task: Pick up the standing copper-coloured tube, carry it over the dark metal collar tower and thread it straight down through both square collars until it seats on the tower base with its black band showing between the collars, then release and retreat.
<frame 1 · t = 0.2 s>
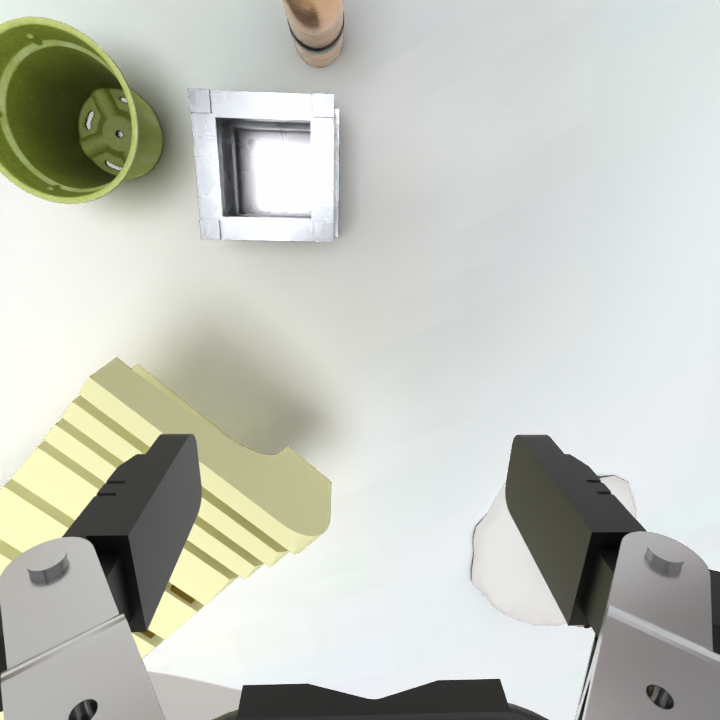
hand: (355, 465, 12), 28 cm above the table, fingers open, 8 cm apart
slatted curved stool: (164, 462, 44), on the table
collar tower: (280, 174, 35), on the table
plant pot: (122, 134, 34), on the table
tube: (318, 39, 32), on the table
figurine: (552, 540, 49), on the table
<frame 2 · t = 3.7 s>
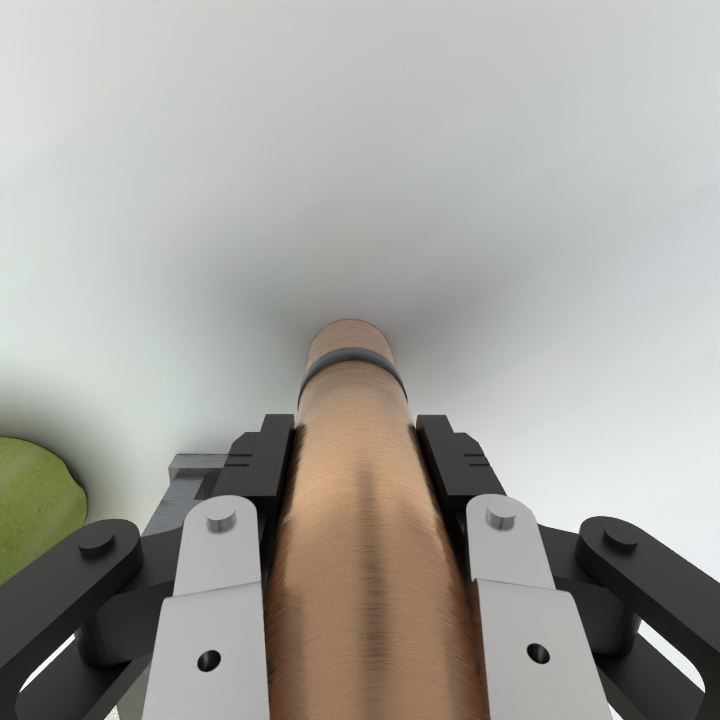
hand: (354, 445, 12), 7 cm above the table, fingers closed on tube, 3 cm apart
collar tower: (283, 536, 22), on the table
plant pot: (19, 491, 20), on the table
tube: (350, 359, 19), on the table, touching gripper
when the fingers open (9 cm above the table, at t = 8.5 s): tube drops 1 cm, resting on collar tower.
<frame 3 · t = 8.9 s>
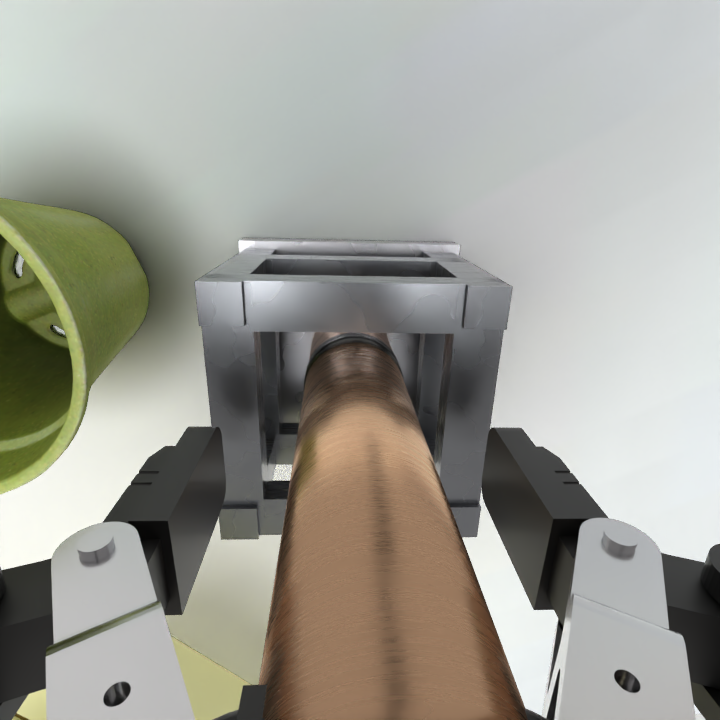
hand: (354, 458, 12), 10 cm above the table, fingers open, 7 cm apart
slatted curved stool: (158, 716, 30), on the table
collar tower: (348, 340, 21), on the table
plant pot: (79, 281, 20), on the table
tube: (350, 348, 20), point 1 cm above the table, touching collar tower
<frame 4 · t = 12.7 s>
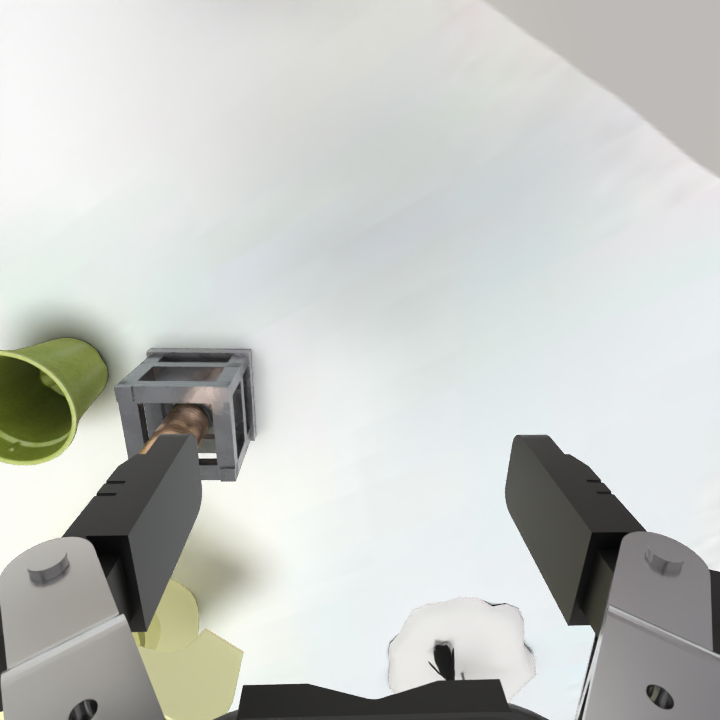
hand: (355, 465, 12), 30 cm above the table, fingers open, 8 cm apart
slatted curved stool: (121, 599, 52), on the table
collar tower: (205, 393, 43), on the table
plant pot: (75, 367, 42), on the table
tube: (203, 398, 42), point 1 cm above the table, touching collar tower
figurine: (458, 651, 58), on the table
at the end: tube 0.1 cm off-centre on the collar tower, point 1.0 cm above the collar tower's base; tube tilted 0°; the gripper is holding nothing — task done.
